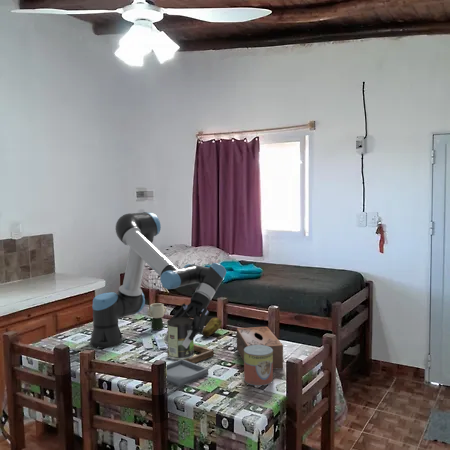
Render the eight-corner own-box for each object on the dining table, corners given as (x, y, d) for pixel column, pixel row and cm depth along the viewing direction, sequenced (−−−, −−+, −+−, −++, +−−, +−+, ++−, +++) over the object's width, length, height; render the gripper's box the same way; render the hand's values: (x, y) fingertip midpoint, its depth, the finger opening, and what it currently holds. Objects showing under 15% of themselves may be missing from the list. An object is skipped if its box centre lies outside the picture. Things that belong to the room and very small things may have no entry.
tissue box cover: (236, 349, 218) (236, 328, 217) (267, 347, 220) (267, 326, 219) (248, 371, 193) (248, 347, 192) (282, 368, 195) (283, 345, 194)
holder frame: (167, 356, 209) (167, 351, 209) (191, 348, 219) (191, 343, 219) (190, 365, 199) (190, 359, 199) (213, 355, 210) (213, 350, 210)
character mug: (163, 325, 255) (162, 301, 254) (169, 328, 249) (169, 304, 248) (144, 329, 249) (144, 305, 248) (151, 332, 243) (150, 307, 242)
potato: (196, 335, 238) (196, 319, 238) (216, 330, 246) (216, 315, 246) (206, 339, 232) (205, 323, 231) (226, 333, 240) (226, 318, 239)
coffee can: (197, 351, 192) (196, 317, 191) (190, 360, 182) (189, 324, 180) (172, 350, 194) (171, 316, 193) (164, 359, 184) (163, 323, 183)
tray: (152, 376, 188) (152, 370, 188) (181, 364, 200) (181, 358, 199) (179, 387, 178) (179, 380, 177) (208, 374, 189) (208, 368, 189)
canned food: (252, 388, 176) (251, 356, 175) (239, 376, 187) (238, 347, 186) (278, 382, 181) (278, 352, 180) (264, 372, 191) (264, 343, 190)
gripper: (227, 306, 190) (200, 355, 180) (188, 297, 205) (161, 342, 195) (218, 295, 186) (189, 345, 175) (179, 287, 201) (151, 332, 190)
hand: (175, 343), depth 185 cm, fingers closed on coffee can, 10 cm apart
